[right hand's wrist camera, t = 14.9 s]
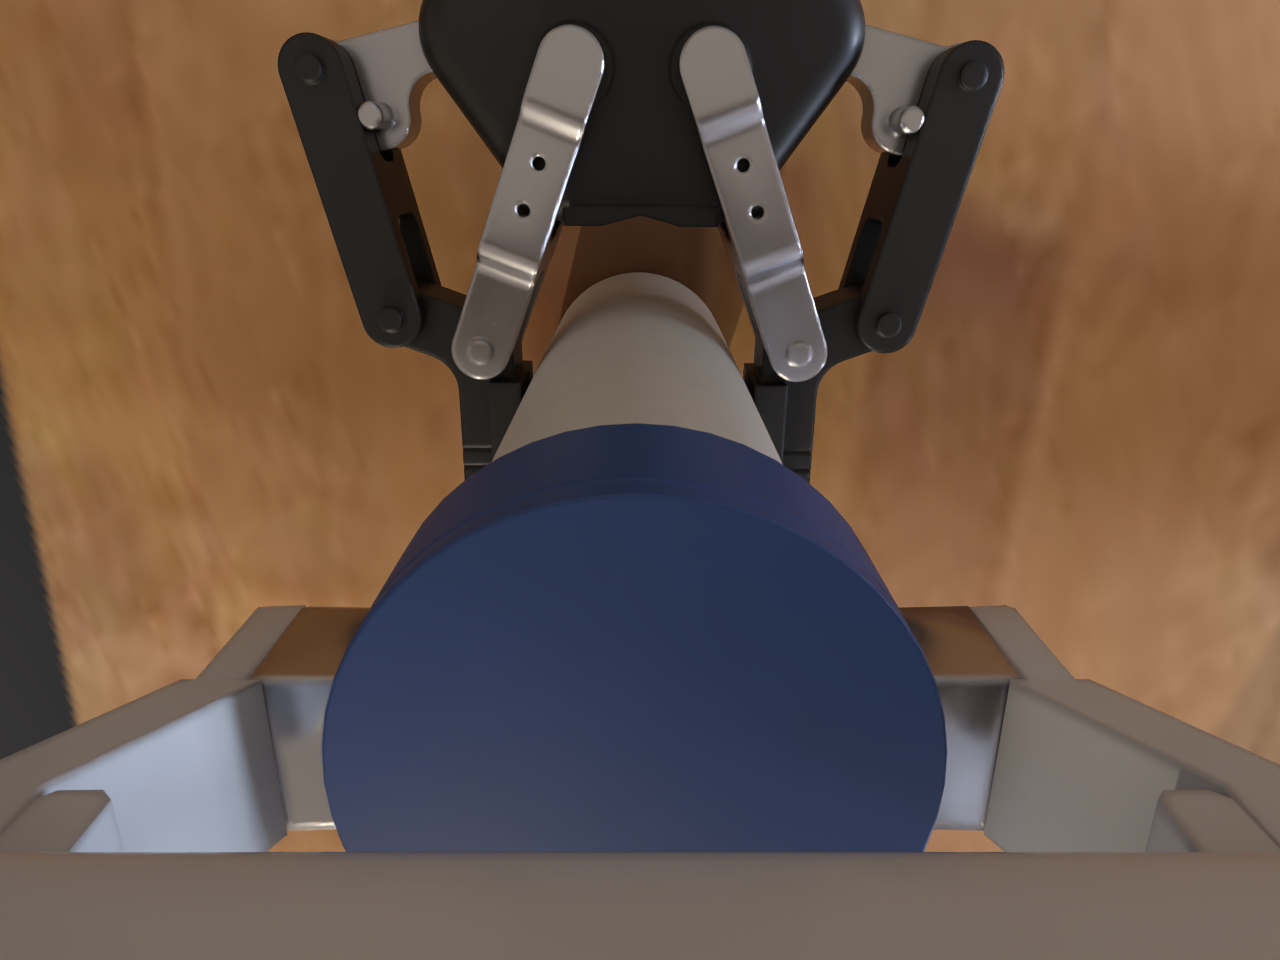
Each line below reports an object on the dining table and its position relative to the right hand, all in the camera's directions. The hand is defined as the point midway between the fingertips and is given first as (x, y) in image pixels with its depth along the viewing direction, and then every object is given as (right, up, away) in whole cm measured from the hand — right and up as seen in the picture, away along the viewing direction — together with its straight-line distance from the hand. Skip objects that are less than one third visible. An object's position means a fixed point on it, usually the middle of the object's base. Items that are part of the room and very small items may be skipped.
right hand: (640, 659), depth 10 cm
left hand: (0, +1, +10) cm, 11 cm away
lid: (0, -1, -2) cm, 2 cm away
